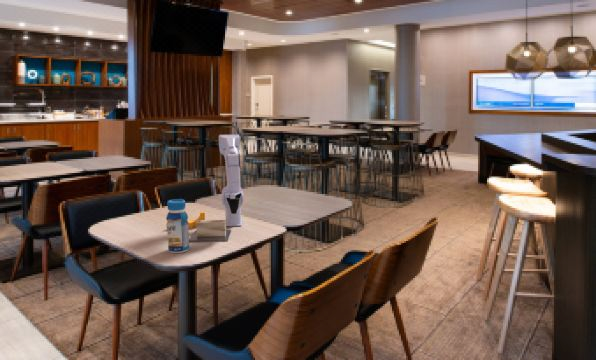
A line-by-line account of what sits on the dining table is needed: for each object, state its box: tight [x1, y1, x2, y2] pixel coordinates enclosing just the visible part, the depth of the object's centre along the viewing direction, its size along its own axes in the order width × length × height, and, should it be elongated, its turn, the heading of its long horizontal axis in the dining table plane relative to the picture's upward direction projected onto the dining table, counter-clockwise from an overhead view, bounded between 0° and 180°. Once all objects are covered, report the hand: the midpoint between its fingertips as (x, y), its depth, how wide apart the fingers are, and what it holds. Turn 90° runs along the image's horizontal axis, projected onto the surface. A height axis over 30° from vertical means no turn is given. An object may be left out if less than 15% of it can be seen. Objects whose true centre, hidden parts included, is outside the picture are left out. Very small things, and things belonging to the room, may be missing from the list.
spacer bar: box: [195, 219, 227, 237], centre depth 192 cm, size 4×12×6 cm, turn 93°
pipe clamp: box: [187, 210, 206, 229], centre depth 207 cm, size 12×4×6 cm, turn 100°
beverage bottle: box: [165, 198, 191, 254], centre depth 174 cm, size 8×8×20 cm
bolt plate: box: [189, 229, 232, 243], centre depth 193 cm, size 14×16×1 cm
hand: (234, 211), depth 197 cm, fingers open, 7 cm apart
